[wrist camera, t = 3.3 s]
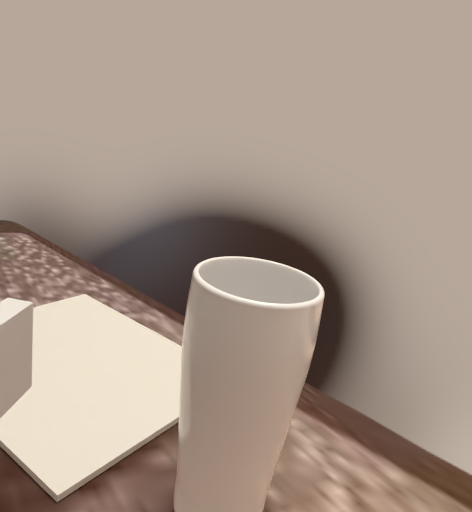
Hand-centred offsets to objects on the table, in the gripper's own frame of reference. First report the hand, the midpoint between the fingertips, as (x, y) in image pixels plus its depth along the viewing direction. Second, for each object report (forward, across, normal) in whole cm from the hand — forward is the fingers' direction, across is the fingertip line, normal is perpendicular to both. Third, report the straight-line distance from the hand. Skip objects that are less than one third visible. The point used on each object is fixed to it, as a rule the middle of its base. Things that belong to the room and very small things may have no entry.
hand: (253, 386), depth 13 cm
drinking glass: (+10, 0, -15) cm, 19 cm away
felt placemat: (+22, -14, -15) cm, 30 cm away
